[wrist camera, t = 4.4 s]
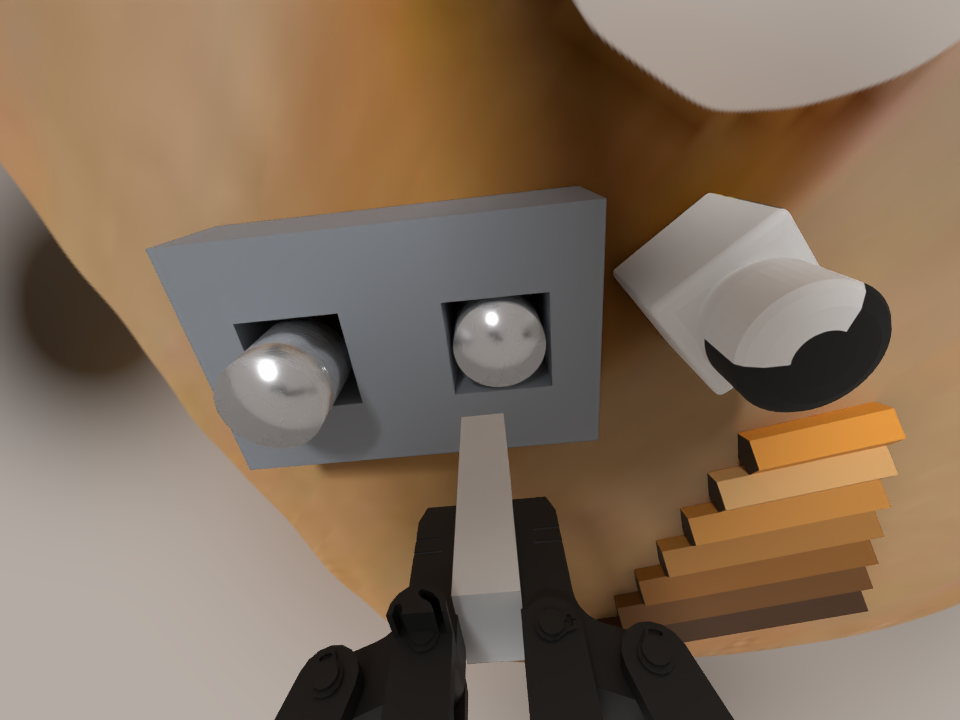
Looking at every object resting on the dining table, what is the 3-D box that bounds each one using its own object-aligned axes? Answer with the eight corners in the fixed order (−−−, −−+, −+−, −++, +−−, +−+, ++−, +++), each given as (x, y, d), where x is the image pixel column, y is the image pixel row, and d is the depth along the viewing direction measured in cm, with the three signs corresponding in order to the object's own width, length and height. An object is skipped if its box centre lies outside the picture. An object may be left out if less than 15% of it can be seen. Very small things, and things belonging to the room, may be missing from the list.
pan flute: (598, 630, 46) (838, 588, 43) (606, 664, 43) (866, 621, 40) (549, 467, 35) (869, 392, 32) (556, 497, 32) (910, 418, 29)
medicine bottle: (763, 275, 27) (949, 362, 16) (668, 343, 29) (776, 459, 19) (709, 189, 25) (886, 225, 14) (609, 271, 27) (695, 356, 16)
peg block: (214, 226, 25) (145, 249, 20) (578, 185, 24) (606, 198, 19) (288, 414, 32) (250, 469, 26) (577, 388, 31) (598, 440, 26)
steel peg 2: (452, 279, 26) (447, 308, 21) (532, 271, 26) (544, 298, 21) (462, 351, 28) (459, 390, 24) (536, 344, 28) (547, 382, 24)
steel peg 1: (249, 321, 23) (195, 364, 18) (339, 312, 23) (305, 354, 18) (279, 397, 25) (237, 452, 21) (360, 390, 25) (335, 443, 21)
